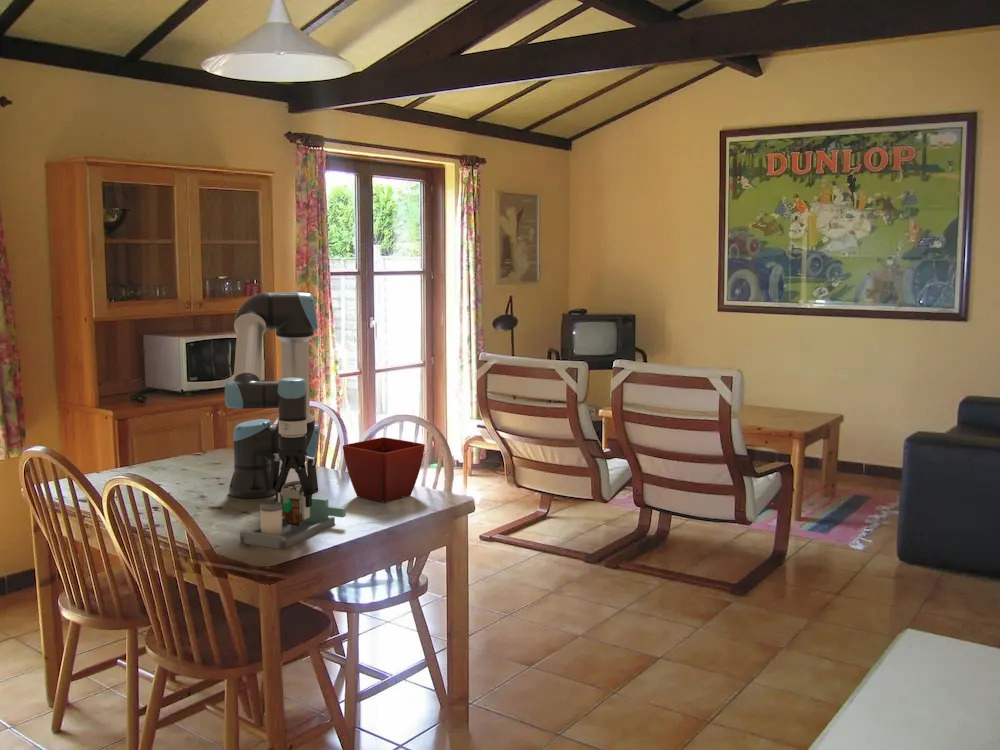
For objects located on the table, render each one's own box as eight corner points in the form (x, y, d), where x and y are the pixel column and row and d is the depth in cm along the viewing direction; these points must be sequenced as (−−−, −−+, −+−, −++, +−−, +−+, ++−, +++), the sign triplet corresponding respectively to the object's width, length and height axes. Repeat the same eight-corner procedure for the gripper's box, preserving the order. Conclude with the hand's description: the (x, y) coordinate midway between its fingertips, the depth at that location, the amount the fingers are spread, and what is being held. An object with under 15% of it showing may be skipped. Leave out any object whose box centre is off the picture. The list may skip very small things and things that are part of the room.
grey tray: (239, 545, 250) (239, 531, 250) (293, 521, 273) (293, 508, 273) (284, 552, 245) (283, 538, 245) (335, 526, 268) (335, 513, 268)
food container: (285, 514, 267) (285, 479, 266) (307, 514, 267) (307, 480, 266) (276, 527, 255) (275, 490, 253) (299, 527, 255) (298, 491, 254)
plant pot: (383, 485, 316) (383, 436, 313) (426, 495, 304) (426, 443, 302) (341, 497, 300) (340, 445, 298) (384, 507, 289) (384, 453, 287)
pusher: (294, 520, 270) (294, 496, 269) (299, 517, 273) (299, 494, 272) (342, 526, 264) (342, 502, 264) (347, 524, 267) (347, 500, 266)
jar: (256, 542, 250) (255, 506, 249) (269, 536, 255) (268, 500, 254) (274, 545, 248) (273, 508, 247) (287, 539, 253) (286, 503, 252)
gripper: (254, 434, 258) (255, 515, 261) (316, 440, 251) (317, 524, 254) (270, 429, 265) (271, 509, 268) (331, 435, 258) (332, 517, 260)
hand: (294, 516), depth 261 cm, fingers closed on food container, 7 cm apart
